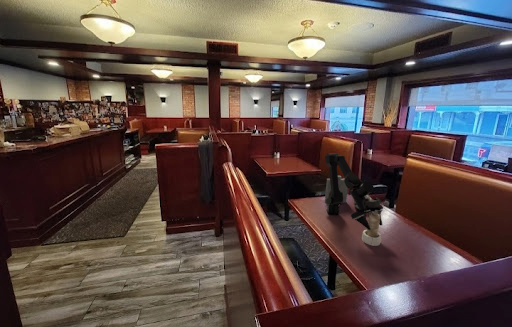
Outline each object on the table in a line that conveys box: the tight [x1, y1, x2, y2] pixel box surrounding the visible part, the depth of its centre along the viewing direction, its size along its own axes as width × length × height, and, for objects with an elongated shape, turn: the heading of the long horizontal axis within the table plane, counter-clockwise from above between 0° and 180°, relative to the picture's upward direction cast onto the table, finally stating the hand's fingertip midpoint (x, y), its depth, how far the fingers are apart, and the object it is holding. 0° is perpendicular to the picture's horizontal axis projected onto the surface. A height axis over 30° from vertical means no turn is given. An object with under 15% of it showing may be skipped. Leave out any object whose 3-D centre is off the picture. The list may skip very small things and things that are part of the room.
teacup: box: [353, 194, 372, 210], centre depth 154 cm, size 14×11×8 cm
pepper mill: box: [366, 211, 380, 238], centre depth 115 cm, size 5×5×16 cm
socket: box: [361, 229, 382, 247], centre depth 117 cm, size 8×8×4 cm
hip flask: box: [324, 175, 349, 204], centre depth 161 cm, size 16×4×20 cm, turn 95°
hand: (375, 227), depth 114 cm, fingers open, 9 cm apart
